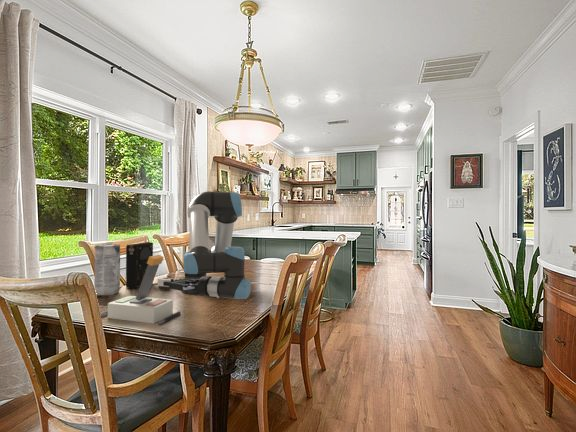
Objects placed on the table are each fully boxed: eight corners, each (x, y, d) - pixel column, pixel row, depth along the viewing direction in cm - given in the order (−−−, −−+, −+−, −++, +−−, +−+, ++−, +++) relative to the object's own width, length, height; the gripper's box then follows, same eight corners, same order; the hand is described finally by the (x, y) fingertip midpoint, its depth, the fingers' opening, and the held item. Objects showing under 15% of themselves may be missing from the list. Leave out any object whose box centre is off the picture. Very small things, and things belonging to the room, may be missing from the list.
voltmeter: (137, 289, 174) (137, 244, 173) (123, 288, 175) (123, 244, 175) (154, 283, 189) (154, 242, 189) (141, 282, 191) (142, 241, 190)
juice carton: (113, 296, 160) (114, 243, 160) (92, 296, 159) (92, 243, 159) (121, 291, 169) (122, 241, 169) (101, 291, 168) (101, 241, 168)
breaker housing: (172, 314, 133) (172, 298, 133) (153, 323, 122) (153, 306, 122) (129, 309, 139) (129, 294, 139) (107, 317, 128) (107, 301, 128)
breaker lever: (148, 297, 133) (163, 257, 131) (138, 301, 127) (154, 259, 125) (144, 294, 134) (159, 254, 131) (133, 298, 128) (149, 256, 126)
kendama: (189, 289, 178) (151, 291, 171) (188, 286, 187) (152, 287, 180) (190, 279, 178) (151, 280, 171) (189, 276, 187) (152, 277, 180)
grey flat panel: (181, 314, 133) (181, 311, 133) (160, 325, 120) (160, 321, 120) (124, 307, 141) (124, 304, 141) (99, 317, 128) (99, 313, 128)
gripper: (202, 300, 115) (147, 295, 121) (219, 291, 128) (168, 287, 134) (202, 280, 115) (147, 276, 121) (219, 273, 127) (168, 270, 134)
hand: (158, 282), depth 127 cm, fingers closed
